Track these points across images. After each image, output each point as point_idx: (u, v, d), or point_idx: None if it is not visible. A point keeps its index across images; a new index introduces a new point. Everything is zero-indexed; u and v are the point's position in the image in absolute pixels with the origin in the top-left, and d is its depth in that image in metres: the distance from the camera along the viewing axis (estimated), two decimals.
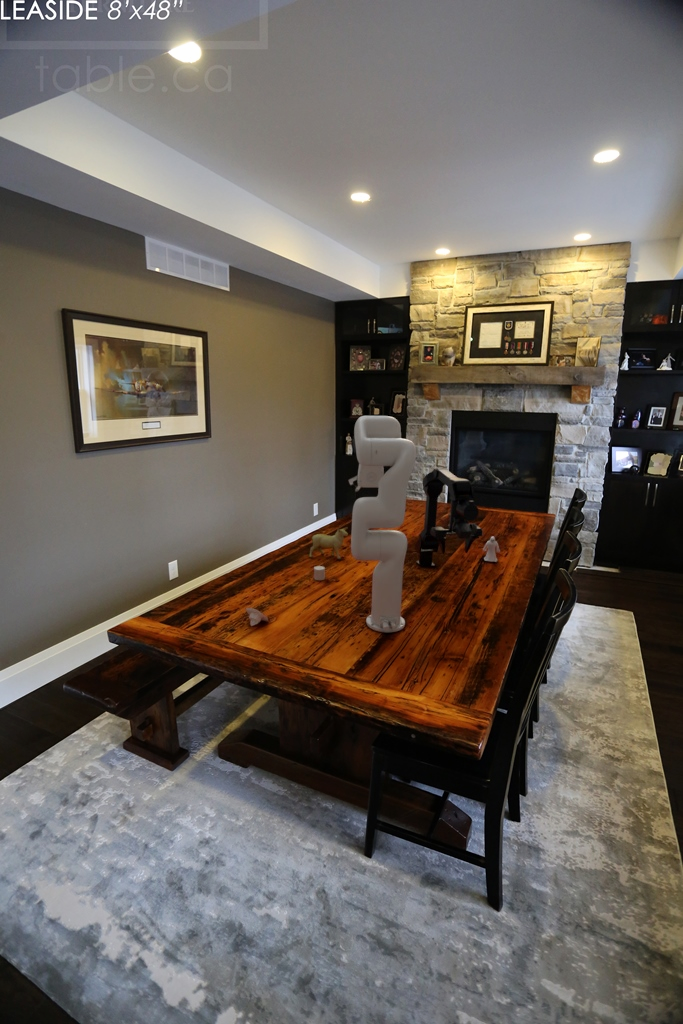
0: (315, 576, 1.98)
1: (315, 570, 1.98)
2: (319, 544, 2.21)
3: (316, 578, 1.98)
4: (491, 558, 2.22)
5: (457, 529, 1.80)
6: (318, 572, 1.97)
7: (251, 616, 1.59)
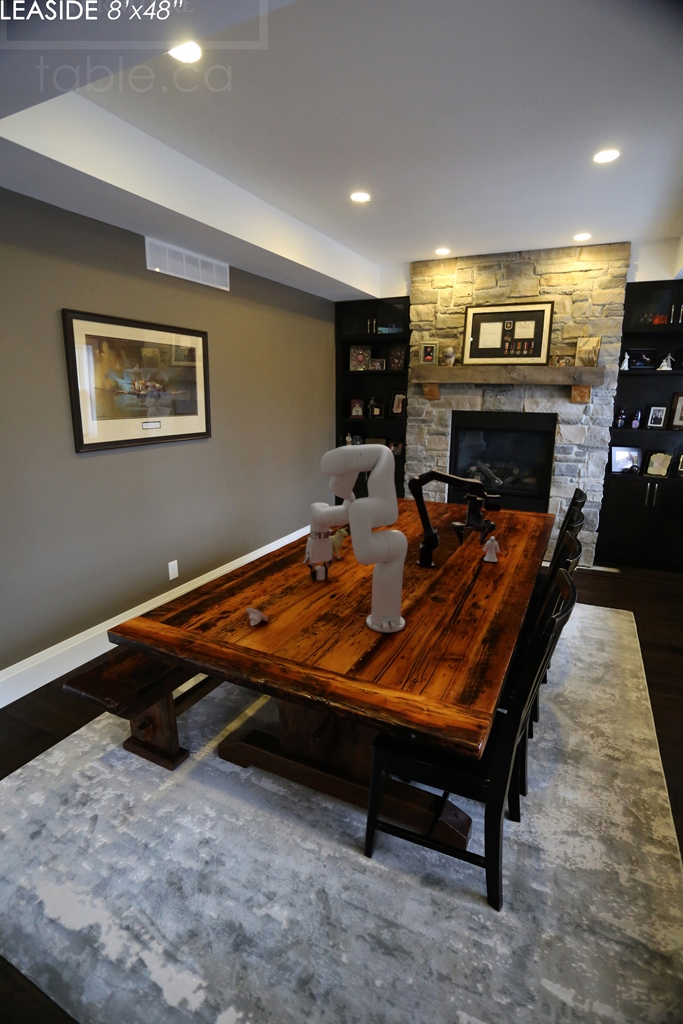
0: None
1: None
2: None
3: (316, 578, 1.98)
4: (491, 558, 2.22)
5: (474, 524, 2.05)
6: (318, 572, 1.97)
7: (251, 616, 1.59)
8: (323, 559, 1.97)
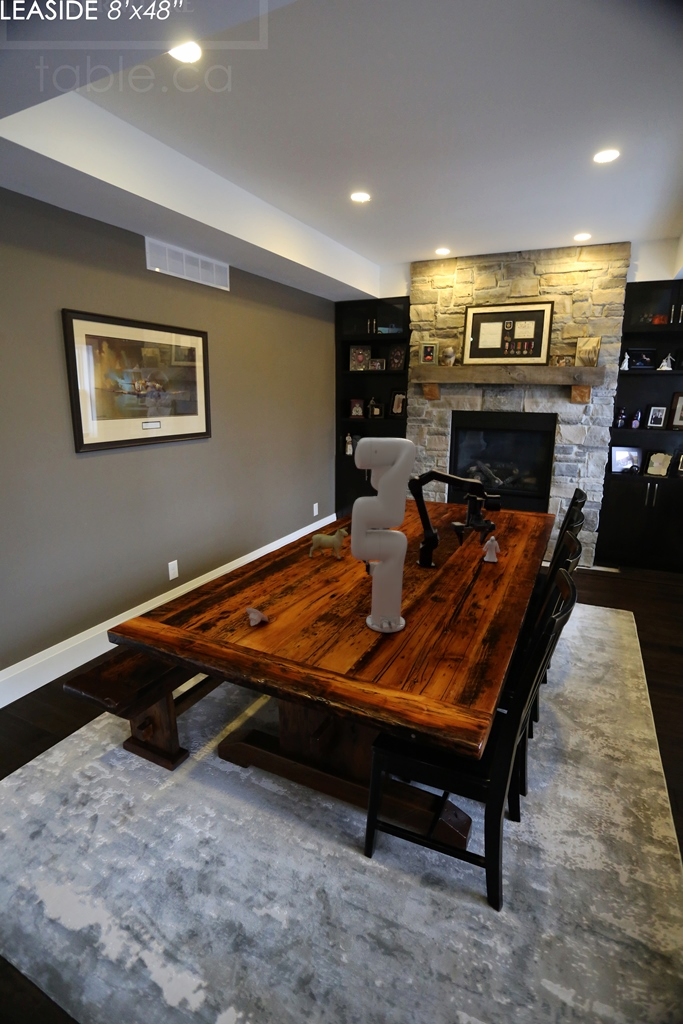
0: (369, 571, 1.95)
1: None
2: (319, 544, 2.21)
3: (369, 573, 1.95)
4: (491, 558, 2.22)
5: (474, 524, 2.05)
6: (371, 567, 1.93)
7: (251, 616, 1.59)
8: None
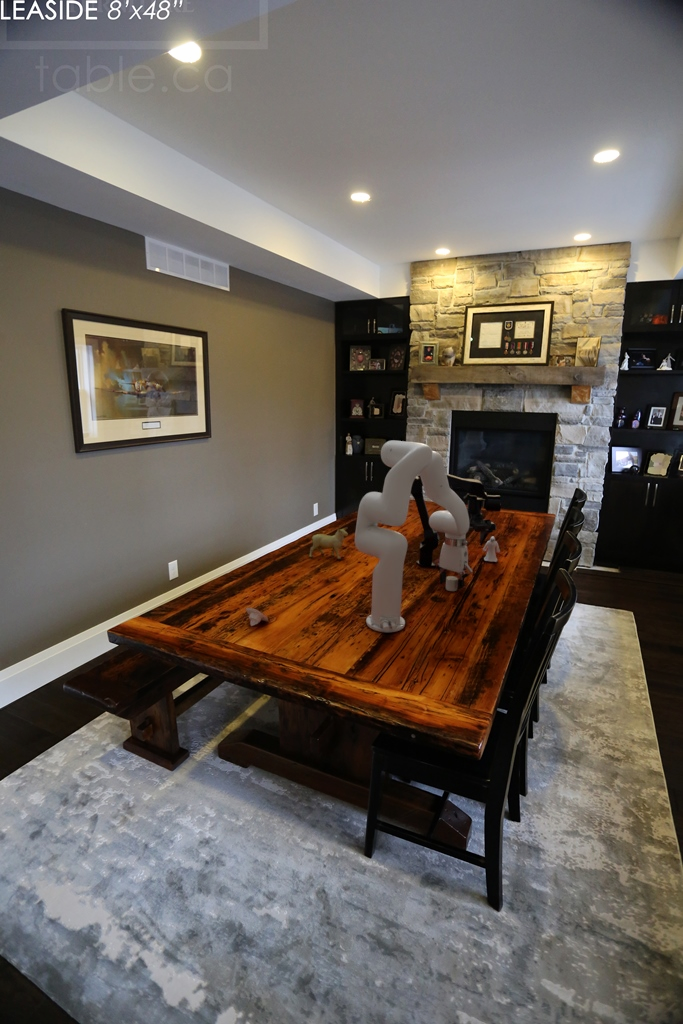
0: None
1: None
2: (319, 544, 2.21)
3: None
4: (491, 558, 2.22)
5: (474, 524, 2.05)
6: (446, 581, 1.91)
7: (251, 616, 1.59)
8: (451, 568, 1.88)
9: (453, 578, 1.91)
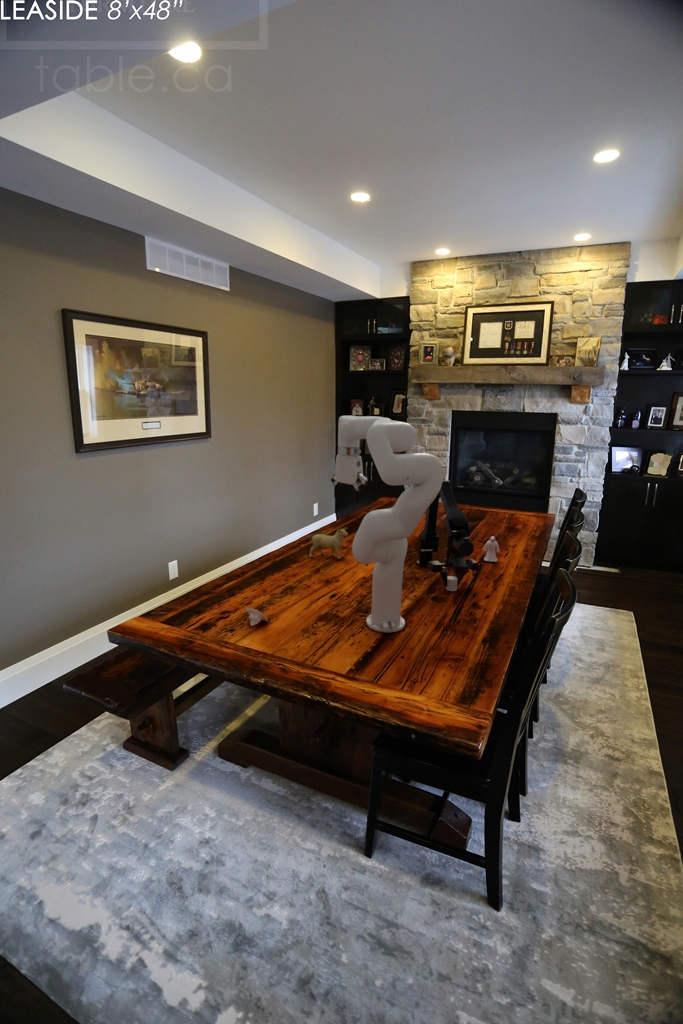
0: None
1: None
2: (319, 544, 2.21)
3: None
4: (491, 558, 2.22)
5: (453, 564, 1.83)
6: None
7: (251, 616, 1.59)
8: (345, 480, 1.76)
9: (453, 578, 1.91)
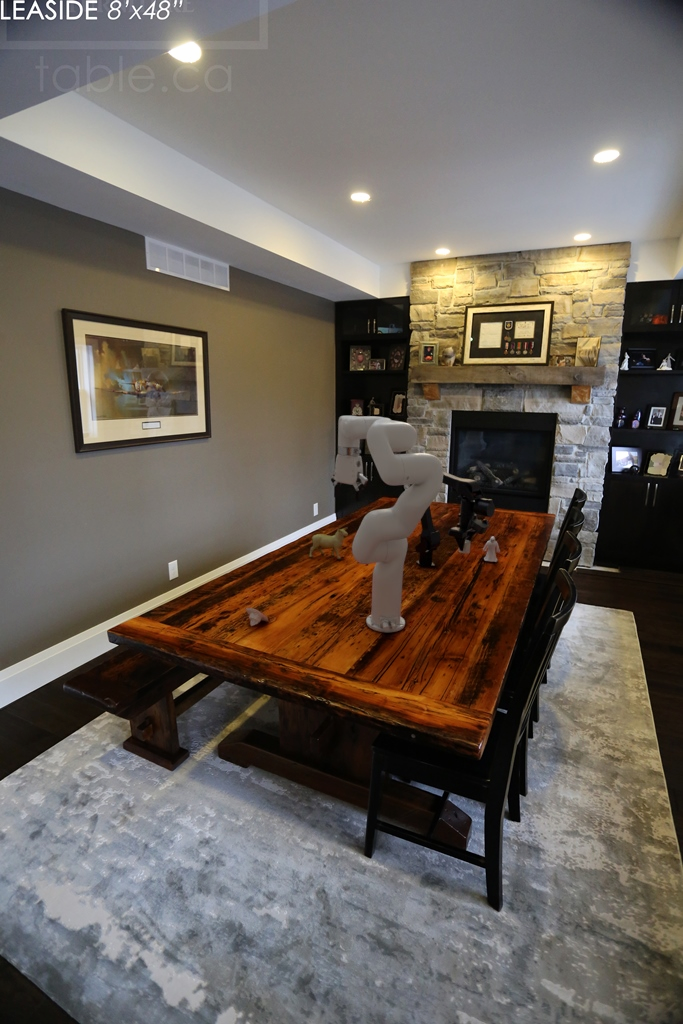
0: None
1: None
2: (319, 544, 2.21)
3: None
4: (491, 558, 2.22)
5: (477, 526, 1.94)
6: None
7: (251, 616, 1.59)
8: (345, 480, 1.76)
9: (466, 541, 2.01)
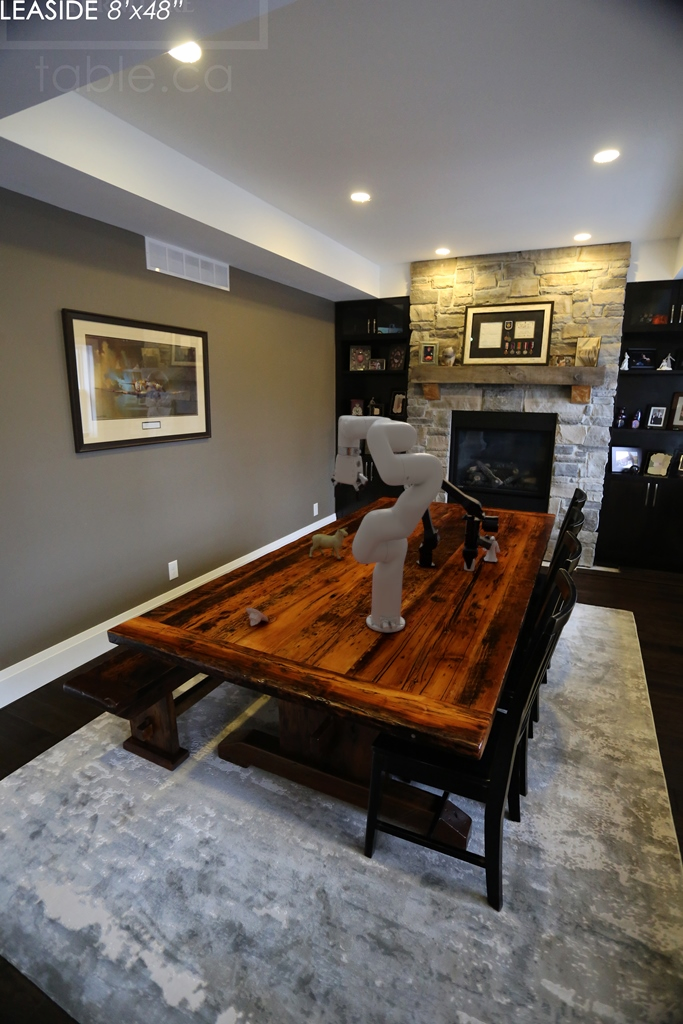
0: (466, 567, 2.12)
1: None
2: (319, 544, 2.21)
3: (466, 569, 2.12)
4: (491, 558, 2.22)
5: (485, 543, 2.07)
6: None
7: (251, 616, 1.59)
8: (345, 480, 1.76)
9: None
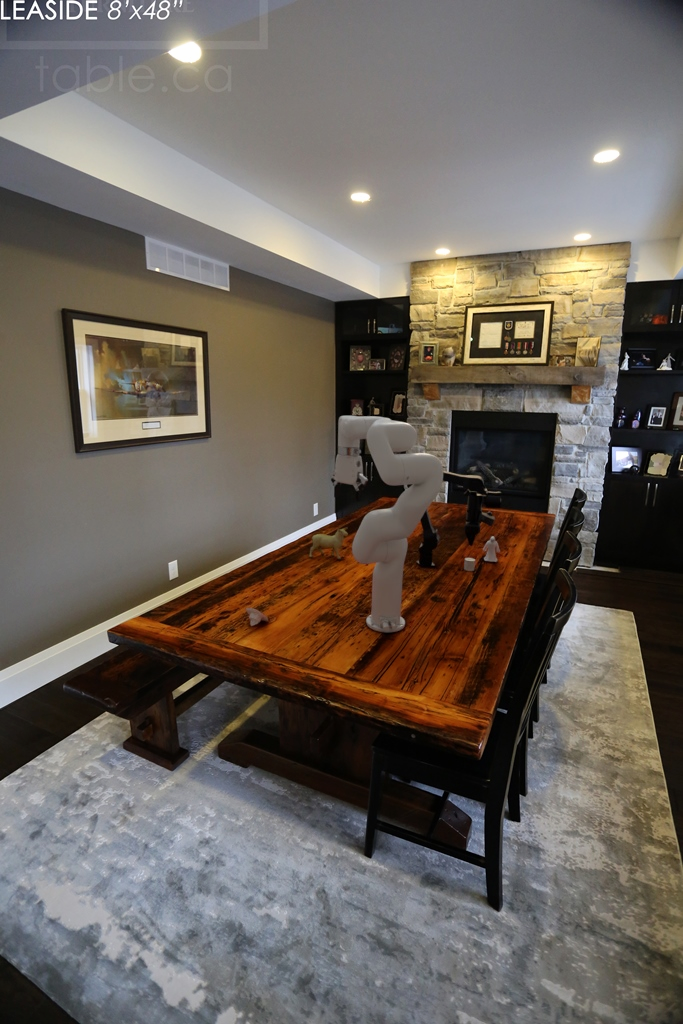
0: (466, 567, 2.12)
1: (466, 561, 2.12)
2: (319, 544, 2.21)
3: (466, 569, 2.12)
4: (491, 558, 2.22)
5: (487, 519, 2.04)
6: (469, 563, 2.11)
7: (251, 616, 1.59)
8: (345, 480, 1.76)
9: (471, 559, 2.13)
